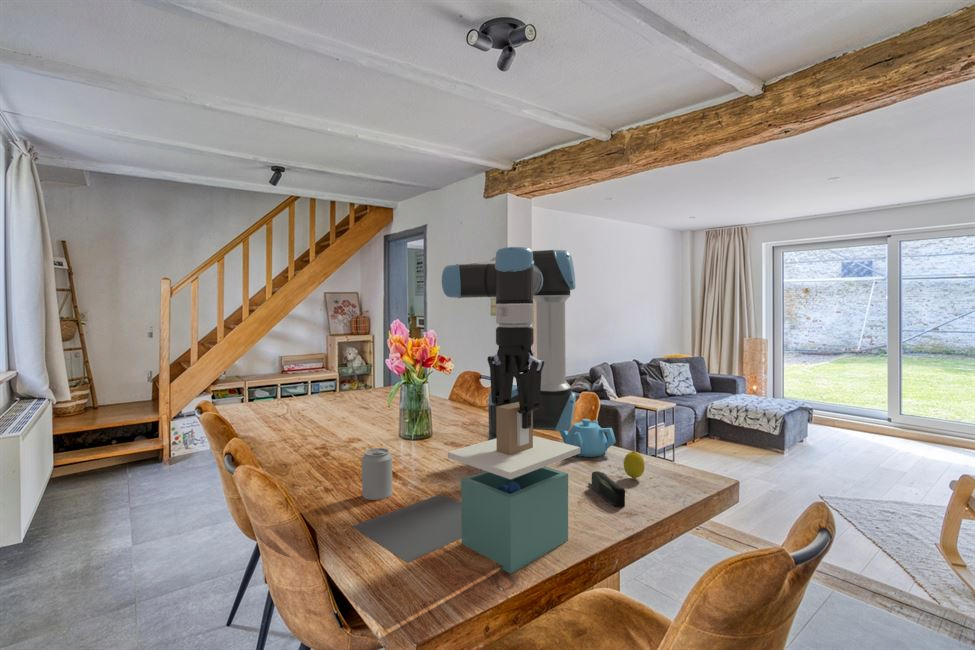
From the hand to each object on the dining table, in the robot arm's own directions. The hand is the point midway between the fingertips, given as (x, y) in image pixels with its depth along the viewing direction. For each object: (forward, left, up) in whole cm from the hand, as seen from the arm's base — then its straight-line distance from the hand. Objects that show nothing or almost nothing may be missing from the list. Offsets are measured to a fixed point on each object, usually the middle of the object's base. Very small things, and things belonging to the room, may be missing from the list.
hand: (515, 441), depth 97 cm
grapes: (0, 0, -21) cm, 21 cm away
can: (-41, -7, -21) cm, 47 cm away
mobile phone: (-1, +34, -21) cm, 41 cm away
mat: (-19, -8, -21) cm, 30 cm away
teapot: (-25, +62, -21) cm, 70 cm away
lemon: (-1, +50, -21) cm, 54 cm away
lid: (0, 0, -3) cm, 3 cm away
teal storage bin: (0, 0, -21) cm, 21 cm away
